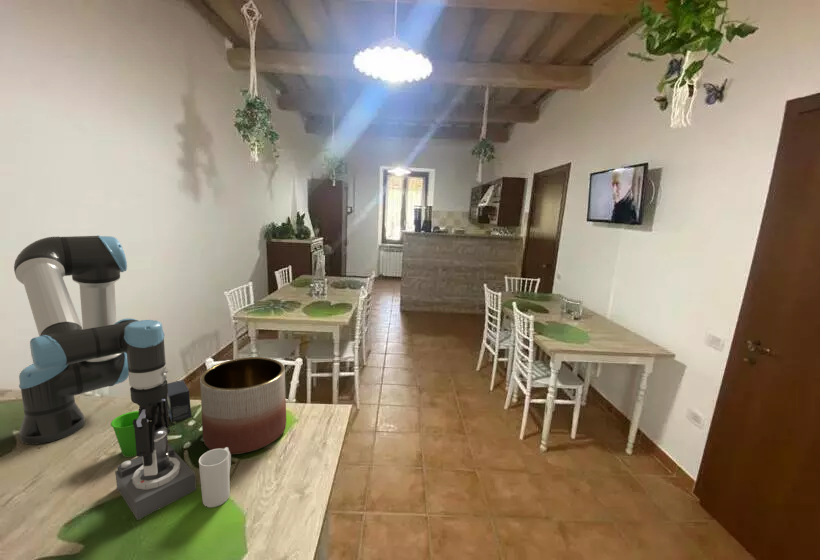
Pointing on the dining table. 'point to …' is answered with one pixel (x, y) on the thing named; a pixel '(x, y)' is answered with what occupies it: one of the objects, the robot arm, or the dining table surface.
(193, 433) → the dining table surface
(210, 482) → the mug
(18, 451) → the dining table surface
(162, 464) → the lens
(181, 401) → the small box
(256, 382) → the planter
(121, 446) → the cup
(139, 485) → the camera body
